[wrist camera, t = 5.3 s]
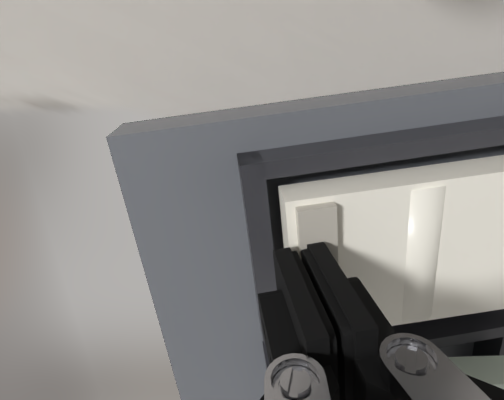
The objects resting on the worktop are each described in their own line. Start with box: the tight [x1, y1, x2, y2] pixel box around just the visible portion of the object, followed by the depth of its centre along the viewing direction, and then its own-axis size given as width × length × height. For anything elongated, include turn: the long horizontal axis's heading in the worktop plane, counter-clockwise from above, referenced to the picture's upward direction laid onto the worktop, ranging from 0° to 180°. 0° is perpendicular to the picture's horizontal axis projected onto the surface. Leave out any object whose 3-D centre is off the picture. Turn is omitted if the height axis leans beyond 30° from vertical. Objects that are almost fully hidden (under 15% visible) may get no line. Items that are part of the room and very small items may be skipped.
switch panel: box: [106, 72, 504, 400], centre depth 17 cm, size 20×19×4 cm
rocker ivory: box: [278, 155, 504, 326], centre depth 13 cm, size 9×6×2 cm, turn 97°
